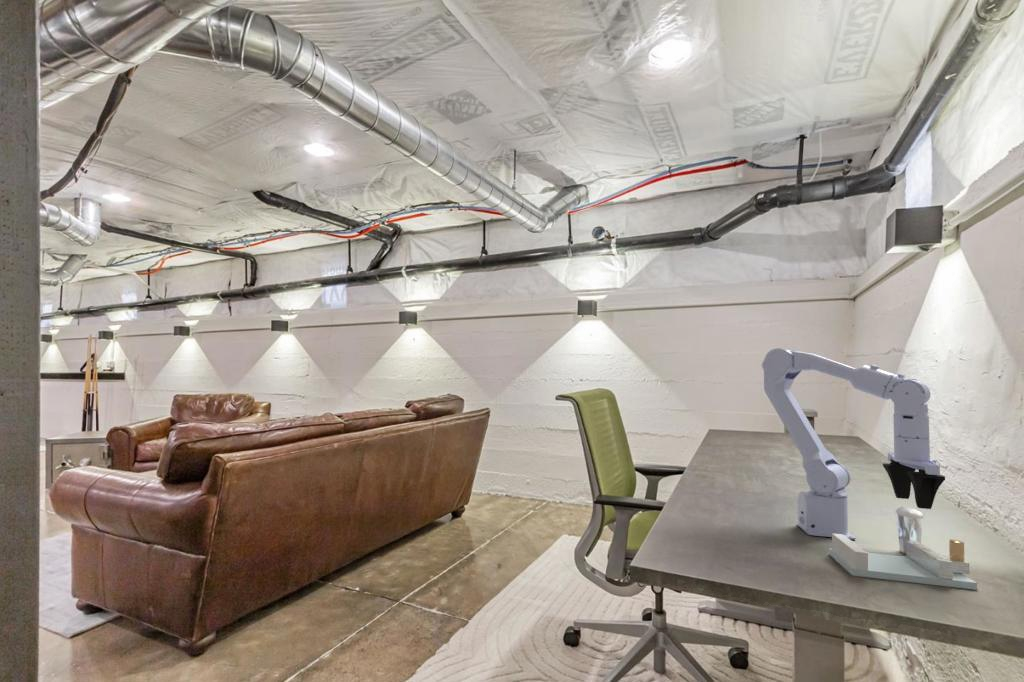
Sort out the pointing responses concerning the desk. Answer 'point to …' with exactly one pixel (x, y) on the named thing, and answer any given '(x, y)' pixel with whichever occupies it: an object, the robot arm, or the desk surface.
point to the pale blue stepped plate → (888, 566)
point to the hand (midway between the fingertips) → (912, 503)
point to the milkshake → (909, 526)
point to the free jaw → (939, 559)
